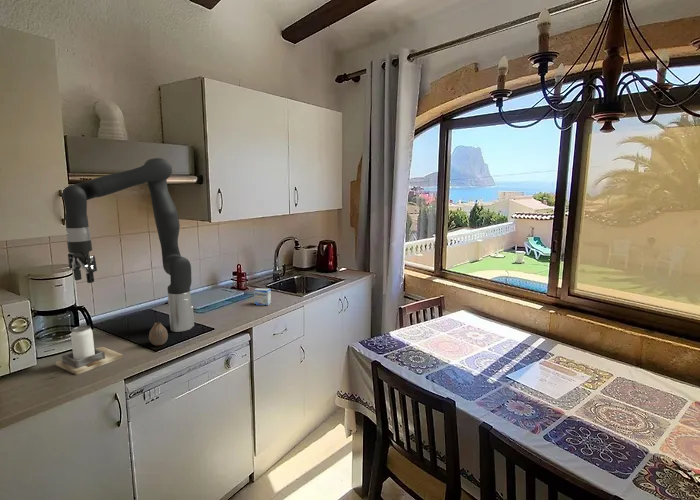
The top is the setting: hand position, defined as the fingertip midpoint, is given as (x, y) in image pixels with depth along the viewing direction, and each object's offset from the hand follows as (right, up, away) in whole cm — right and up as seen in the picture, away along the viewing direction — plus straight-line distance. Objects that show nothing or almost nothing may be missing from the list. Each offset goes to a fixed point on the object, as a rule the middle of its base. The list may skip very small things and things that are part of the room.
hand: (84, 281), depth 151 cm
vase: (+23, -27, +11) cm, 37 cm away
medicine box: (+54, -18, +64) cm, 86 cm away
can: (+5, -28, -7) cm, 30 cm away
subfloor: (+6, -29, -5) cm, 30 cm away
